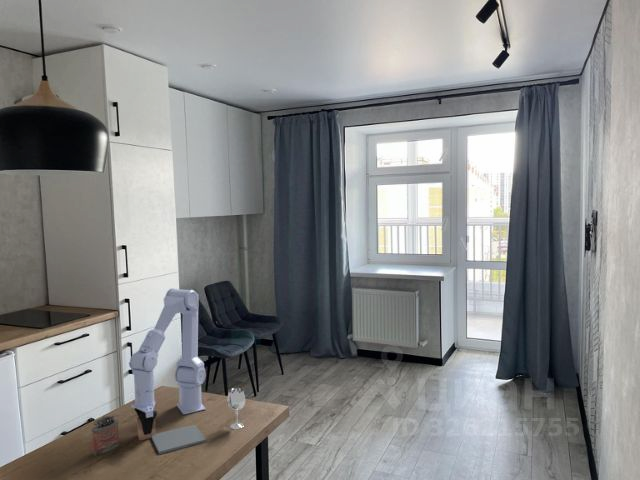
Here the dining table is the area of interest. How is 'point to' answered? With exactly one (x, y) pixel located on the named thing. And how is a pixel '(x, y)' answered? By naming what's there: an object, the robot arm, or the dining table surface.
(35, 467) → the dining table surface
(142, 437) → the block
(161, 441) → the mat
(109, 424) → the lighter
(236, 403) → the wineglass
